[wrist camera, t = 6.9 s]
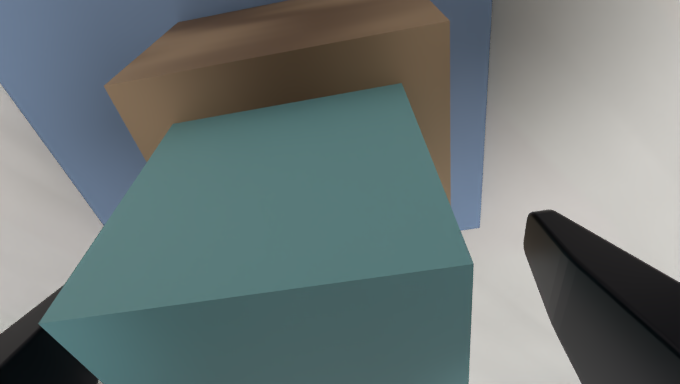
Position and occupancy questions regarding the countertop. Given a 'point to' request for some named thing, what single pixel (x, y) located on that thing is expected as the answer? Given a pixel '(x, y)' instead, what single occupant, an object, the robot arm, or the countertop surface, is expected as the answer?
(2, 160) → the countertop surface
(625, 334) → the robot arm
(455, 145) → the blue flat board
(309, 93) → the walnut base block
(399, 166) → the teal cube
